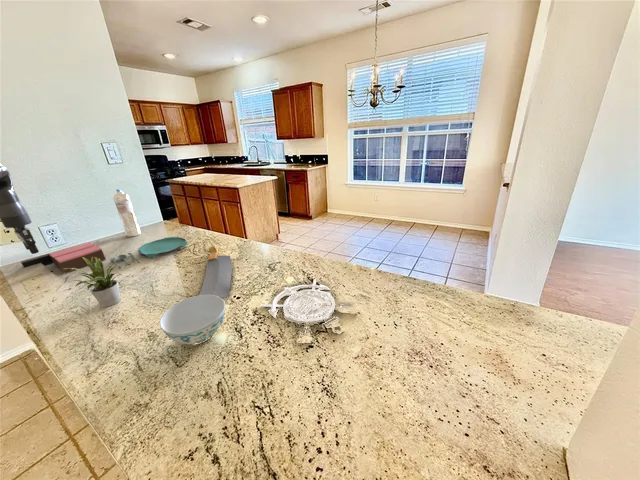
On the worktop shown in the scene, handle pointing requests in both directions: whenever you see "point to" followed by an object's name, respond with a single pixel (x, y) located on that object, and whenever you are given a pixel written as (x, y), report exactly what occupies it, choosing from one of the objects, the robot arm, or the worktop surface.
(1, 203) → the robot arm
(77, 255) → the two-tone red slab
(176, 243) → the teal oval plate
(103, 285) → the house plant
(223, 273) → the cleaver
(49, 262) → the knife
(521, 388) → the worktop surface
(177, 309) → the chinaware
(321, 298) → the pendant
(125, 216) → the water bottle
